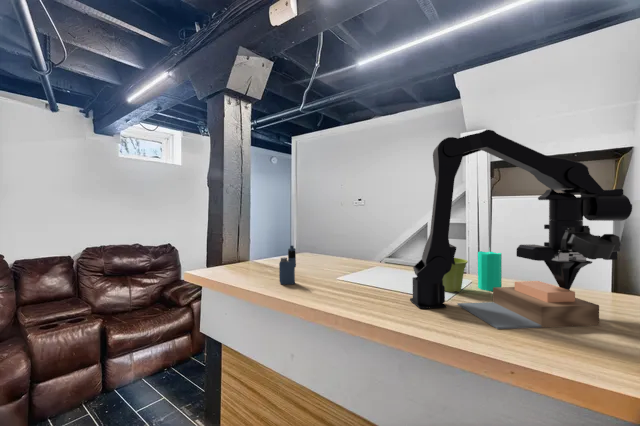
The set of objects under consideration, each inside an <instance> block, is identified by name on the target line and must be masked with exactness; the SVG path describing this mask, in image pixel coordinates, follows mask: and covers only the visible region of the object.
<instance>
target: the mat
mask: <svg viewBox="0 0 640 426" xmlns="http://www.w3.org/2000/svg"><path fill="white" fill-rule="evenodd" d="M456 304H457V306H459V307H460V308H461V309H464V310H465V311H467V312H468V313H470V314H472V315H474V316H475V317H476V318H479V319H480V320H482V321H483V322H485V323H486V324H489V325H490V326H491V327H493V328H495V329H497V330H507V329H508V330H509V329H533V328H537V329H538V328H543V327H542V325H540V324H538V323H536V322H533V321H531V320H529V319H527V318H525V317H523V316H521V315H519V314H517V313H515V312H513V311H510V310H508V309H506V308H504V307H502V306H500V305H498V304H496V303H494V302H493V301H492V302H491V301H490V302H489V301H488V302H484V301H483V302H457V303H456Z"/></svg>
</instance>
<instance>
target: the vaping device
mask: <svg viewBox="0 0 640 426" xmlns="http://www.w3.org/2000/svg"><path fill="white" fill-rule="evenodd" d="M287 250H288V251H287V254H288V255H287V257H283V256H282V257H280V261H279V266H278V267H279V271H278V272H279V276H278V277H279V279H278V280H279V284H280V285H295V284H296V267H297V260H296V259H297V257H296V255H297V251H296V247H295V248H294V245H289V248H288V249H287Z"/></svg>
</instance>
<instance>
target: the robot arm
mask: <svg viewBox="0 0 640 426" xmlns="http://www.w3.org/2000/svg"><path fill="white" fill-rule="evenodd" d="M481 151H482V152H485V153H488V154H490V155H492V156H494V157H496V158H498V159H501V160H503V161H505V162H506V163H509V164H512V165H513V166H515V167H518V168H519V169H522V170H524V171H526V172H529V173H530V174H531V175H533V176H534V177H535V179H536V180H537V181H538V182H539V183H541V184H542V185H544V186H545V187H546V188H548V189H546V190H545V191H544V193H543V194H541V195H539V196H538V197H537V200H538V201H548V202H549V203H548V224H547V223H546V224H544V225H543V227H544V230H548V241H545V242H543V245H539V244H519V245H518V246H517V247H516V257H517V258H522V259H527V260H532V261H538V262H544V263H545V265H546V267H547V268H548V269H549V271H550V272H551V275H552V276H553V278H554V280H555V281H556V283H557V285H558V287H561V288H564V289H567V290H570V289H572V286H573V283H574V281H575V279H576V277H577V275H578V273H580V270H581V269H582V268H584V267H585V266H587V265H591V264H592V263H593V260H597V259H601V260H603V261H604V260H605V261H614V260H615V261H617V260H618V252H620V250H621V248H620V247H621V240H620V239H621V238H620V235H619V236H618V235H616V234H614V233H604V234H603V235H594V234H593V233H591V228H590V227H589V225H584V218H585V220H587V221H594V222H595V221H597V222H599V221H603V222H605V221H606V222H607V221H609V222H610V221H611V222H612V221H614V222H616V221H617V222H619V221H620V222H622V221H626V220H627V219H628V218H629V217H630V216H631V214H632V212H633V204H632V203H631V200H630V199H629V197H628V196H627V195H625V194H624V189H623V188H612V189H611V188H610V189H604V188H602V186H601V185H600V184H599V183H598V182H597V181H596V179H594V177H593V176H592V175H591V174H590V171H589V167H588V166H587V165H585V164H584V163H583V162H580V161H577V160H576V161H575V160H571V159H569V158H564V157H555V156H549V155H545V154H544V153H541V152H539V151H537V150H534V149H533V148H531V147H528V146H525V145H524V144H521V143H520V142H517V141H514V140H512V139H509V138H508V137H505V136H503V135H501V134H499V133H497V132H496V131H495V130H492V129H485V130H483V131H480V132H477V133H474V134H473V133H472V134H467V135H465V136H461V137H453V136H451V137H449V136H448V137H446V138H444V139H442V140H441V141H440V142H439V143H438V145H437V146H436V147H435V148H434V150H433V152H432V162H433V169H434V175H435V176H434V177H435V184H434V194H433V202H432V203H433V204H432V212H431V214H432V215H431V219H430V221H431V222H430V230H429V231H430V232H429V236H428V238H427V241H426V243H425V245H424V248H423V249H424V250H423V252H422V256H421V259H420V260H419V261H418V262H417V263H415V265H414V266H413V267H412V269H413V271H414V273H415V277H414V276H413V277H412V297H410V298H409V301H411V302H412V303H413V305H414V306H415V305H416V307H418V308H419V309H445V308H447V304H445V301H446V298H445V297H446V295H445V294H446V291H445V286H444V285H443V280H442V279H443V277H444V275H445V274H446V273H448V272H449V271H450V270H451V267H452V264H454V265H455V261H454V258H455V255H456V251H457V246H455V245H453V244H452V243H450V240H449V239H450V238H449V234H450V233H449V232H450V224H451V216H452V214H451V213H452V206H453V198H454V197H453V196H454V189H455V178H456V175H457V173H458V171H459V169H460V166H461V165H462V164H461V163H462V160H463V158H464V157H467V156H469V155H472V154H475V153H477V152H481ZM557 191H558V192H557ZM578 195H580V196H578ZM587 259H589V260H587Z"/></svg>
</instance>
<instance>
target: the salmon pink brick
mask: <svg viewBox="0 0 640 426" xmlns="http://www.w3.org/2000/svg"><path fill="white" fill-rule="evenodd" d="M514 287H515V290H516V291H519V292H521V293H524V294H527V295H529V296H532V297H535V298H537V299H540V300H543V301H545V302H575V298H576V291H575V290H574V291H573V290H567V289H564V288H561V287H559V286H556V285H553V284H550V283H547V282H544V281H540V280H529V281H528V280H527V281H526V280H525V281H523V280H521V281H514Z"/></svg>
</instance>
